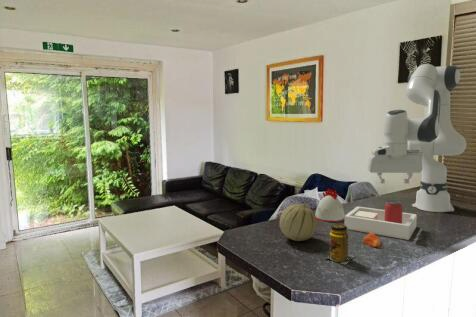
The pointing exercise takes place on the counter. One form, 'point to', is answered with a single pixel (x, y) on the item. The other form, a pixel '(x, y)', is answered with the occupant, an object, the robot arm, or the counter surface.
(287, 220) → the cantaloupe
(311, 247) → the counter surface
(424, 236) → the counter surface
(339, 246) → the condiment
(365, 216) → the cream rectangular box
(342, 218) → the kitchen timer
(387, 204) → the beer can
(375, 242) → the rock
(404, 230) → the tray
